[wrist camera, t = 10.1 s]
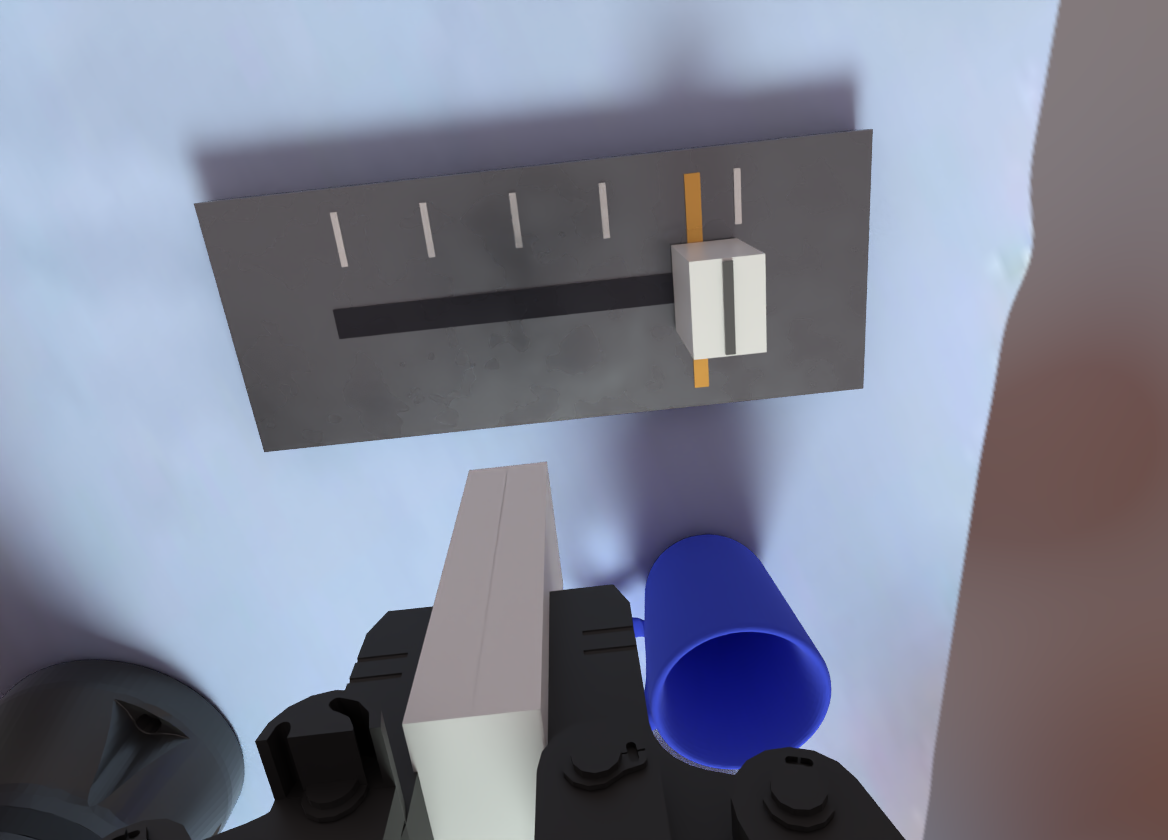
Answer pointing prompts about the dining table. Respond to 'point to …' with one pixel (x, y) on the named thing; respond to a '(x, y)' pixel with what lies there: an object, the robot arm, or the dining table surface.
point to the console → (537, 289)
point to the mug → (726, 656)
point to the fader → (720, 298)
